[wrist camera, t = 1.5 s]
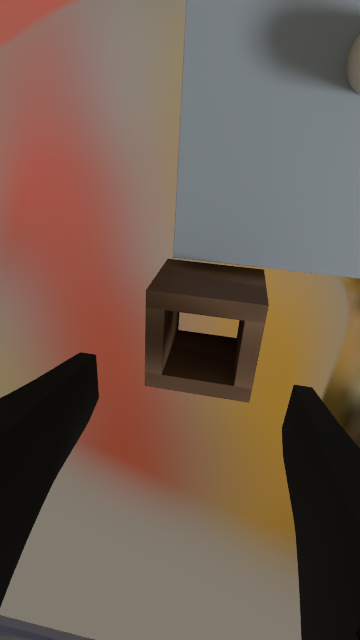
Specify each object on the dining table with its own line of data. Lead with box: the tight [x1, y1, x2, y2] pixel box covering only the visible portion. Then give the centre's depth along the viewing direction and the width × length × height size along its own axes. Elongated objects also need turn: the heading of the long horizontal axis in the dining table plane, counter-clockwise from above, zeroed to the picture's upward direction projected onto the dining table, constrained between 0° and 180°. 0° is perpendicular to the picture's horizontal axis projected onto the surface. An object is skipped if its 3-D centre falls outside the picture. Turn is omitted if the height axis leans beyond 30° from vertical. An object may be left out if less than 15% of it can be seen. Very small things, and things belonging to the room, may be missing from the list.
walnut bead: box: [145, 259, 269, 402], centre depth 17 cm, size 5×5×4 cm
